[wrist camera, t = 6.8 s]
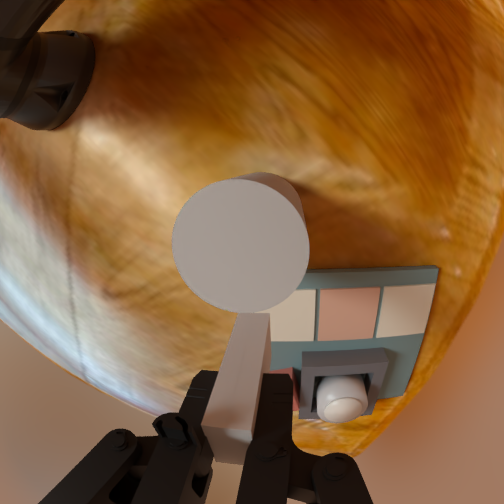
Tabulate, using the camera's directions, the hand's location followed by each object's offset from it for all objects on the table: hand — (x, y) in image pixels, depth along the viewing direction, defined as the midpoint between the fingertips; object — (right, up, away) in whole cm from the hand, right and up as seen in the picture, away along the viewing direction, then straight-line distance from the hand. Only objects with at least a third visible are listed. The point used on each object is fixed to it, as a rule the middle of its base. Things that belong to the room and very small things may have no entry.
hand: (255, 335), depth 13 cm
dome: (+11, -13, +17) cm, 23 cm away
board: (+11, -7, +17) cm, 21 cm away
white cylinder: (+1, +8, +14) cm, 16 cm away
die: (+4, -12, +19) cm, 23 cm away
